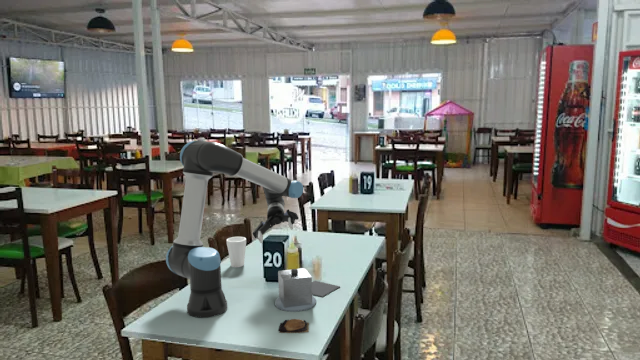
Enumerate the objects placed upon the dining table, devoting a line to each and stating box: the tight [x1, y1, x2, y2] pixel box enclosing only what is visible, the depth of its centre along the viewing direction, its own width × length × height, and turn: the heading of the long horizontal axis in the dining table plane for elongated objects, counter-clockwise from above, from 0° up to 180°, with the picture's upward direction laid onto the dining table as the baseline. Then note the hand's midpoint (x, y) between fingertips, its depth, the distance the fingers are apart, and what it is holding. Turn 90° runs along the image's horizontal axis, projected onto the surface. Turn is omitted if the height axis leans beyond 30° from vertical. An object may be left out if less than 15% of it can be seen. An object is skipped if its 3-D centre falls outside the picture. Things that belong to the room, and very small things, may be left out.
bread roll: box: [278, 318, 310, 334], centre depth 178 cm, size 11×8×4 cm
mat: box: [312, 280, 341, 298], centre depth 214 cm, size 13×13×1 cm
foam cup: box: [226, 236, 247, 268], centre depth 246 cm, size 10×9×13 cm
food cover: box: [277, 267, 313, 308], centre depth 198 cm, size 11×11×13 cm
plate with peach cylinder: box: [274, 295, 317, 313], centre depth 199 cm, size 16×16×5 cm
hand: (275, 233), depth 203 cm, fingers open, 13 cm apart
